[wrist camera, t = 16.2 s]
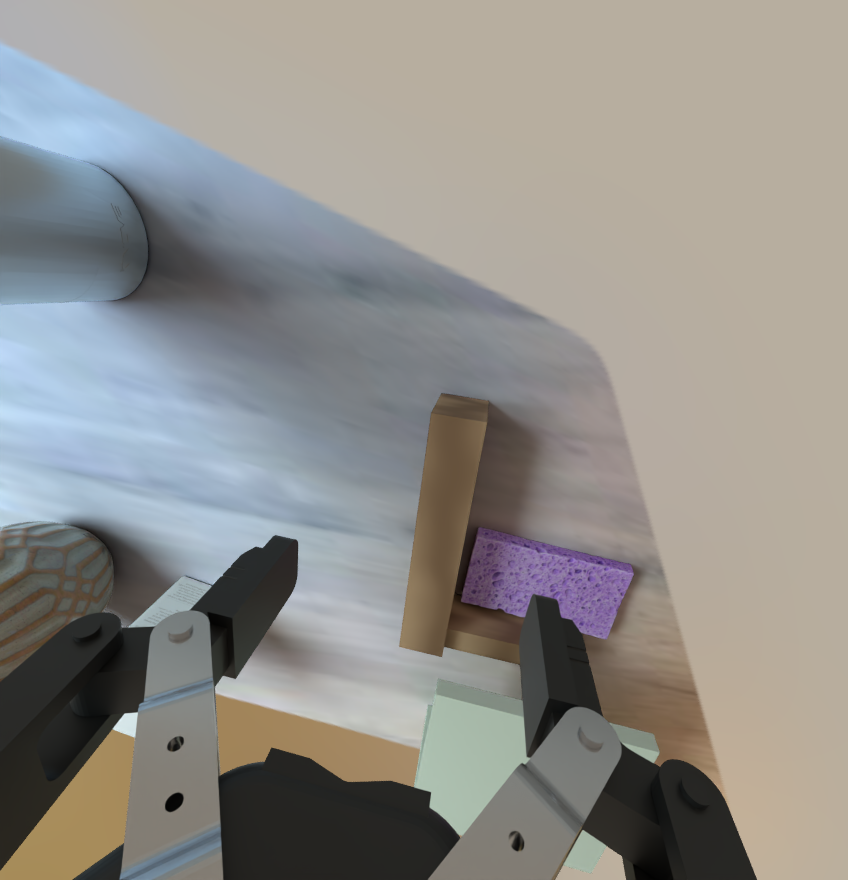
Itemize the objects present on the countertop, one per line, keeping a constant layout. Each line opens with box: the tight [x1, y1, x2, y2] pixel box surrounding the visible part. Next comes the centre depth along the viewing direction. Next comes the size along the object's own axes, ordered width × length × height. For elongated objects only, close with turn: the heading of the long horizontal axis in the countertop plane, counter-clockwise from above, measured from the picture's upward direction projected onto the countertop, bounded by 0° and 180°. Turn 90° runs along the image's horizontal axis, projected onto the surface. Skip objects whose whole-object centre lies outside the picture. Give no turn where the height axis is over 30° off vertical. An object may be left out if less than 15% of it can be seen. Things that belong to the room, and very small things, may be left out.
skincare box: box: [113, 576, 212, 738], centre depth 36 cm, size 6×4×12 cm
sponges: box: [461, 527, 634, 639], centre depth 34 cm, size 7×13×2 cm, turn 80°
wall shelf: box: [414, 679, 660, 873], centre depth 34 cm, size 15×16×9 cm
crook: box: [399, 393, 525, 665], centre depth 30 cm, size 14×20×5 cm
